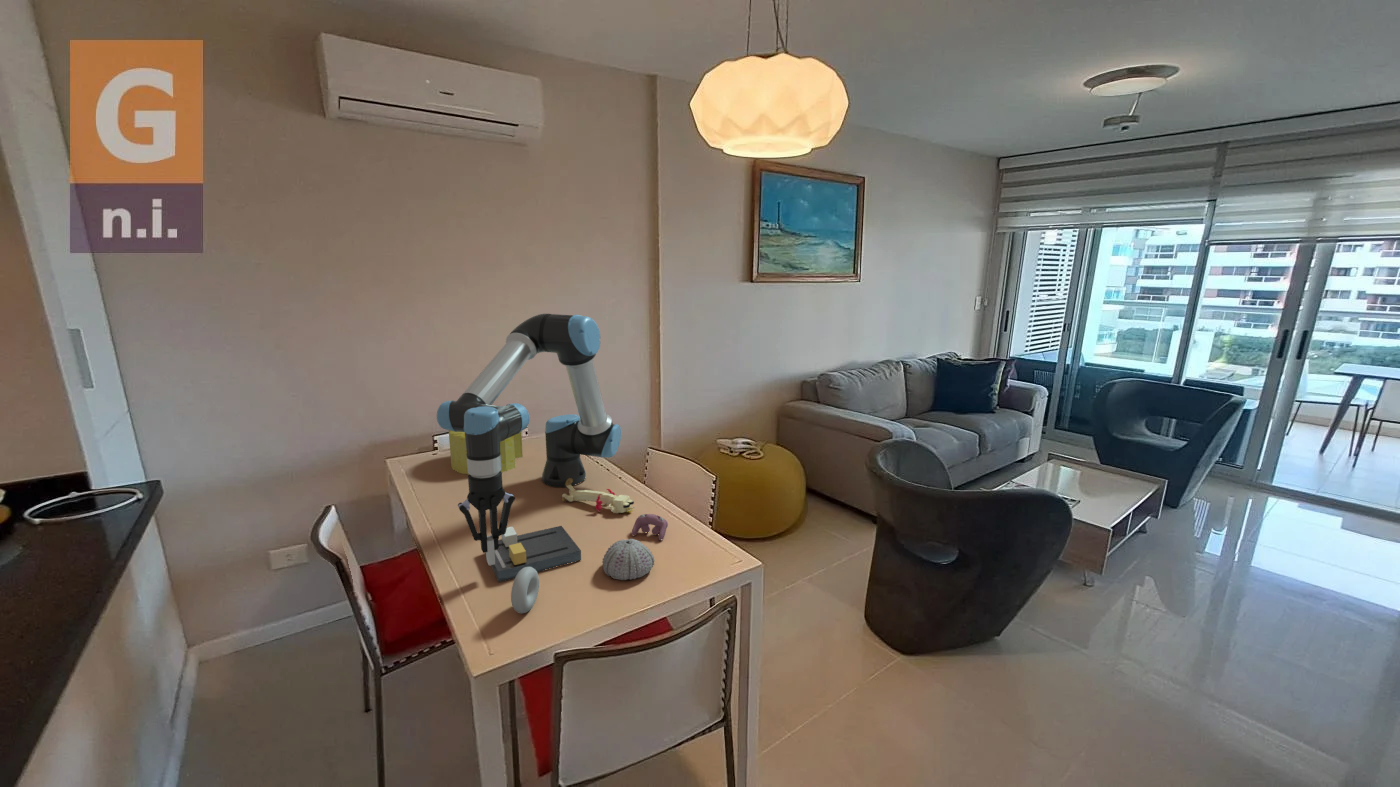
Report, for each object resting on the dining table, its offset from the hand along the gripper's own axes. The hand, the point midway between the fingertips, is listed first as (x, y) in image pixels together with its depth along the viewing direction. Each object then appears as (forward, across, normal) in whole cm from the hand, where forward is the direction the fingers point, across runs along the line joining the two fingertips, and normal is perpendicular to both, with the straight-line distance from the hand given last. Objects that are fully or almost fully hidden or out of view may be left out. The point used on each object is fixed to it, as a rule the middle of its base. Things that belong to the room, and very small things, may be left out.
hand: (490, 562), depth 138 cm
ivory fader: (+1, -7, -10) cm, 12 cm away
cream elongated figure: (+5, -39, -26) cm, 47 cm away
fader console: (+4, -11, -5) cm, 13 cm away
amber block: (+1, -6, 0) cm, 7 cm away
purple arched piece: (+5, -44, -1) cm, 44 cm away
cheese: (+5, -16, -83) cm, 85 cm away
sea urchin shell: (+5, -31, +13) cm, 34 cm away
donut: (+5, -4, +17) cm, 18 cm away
